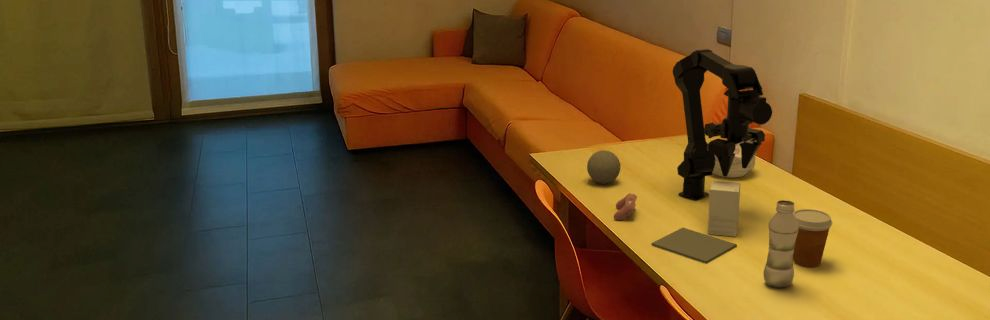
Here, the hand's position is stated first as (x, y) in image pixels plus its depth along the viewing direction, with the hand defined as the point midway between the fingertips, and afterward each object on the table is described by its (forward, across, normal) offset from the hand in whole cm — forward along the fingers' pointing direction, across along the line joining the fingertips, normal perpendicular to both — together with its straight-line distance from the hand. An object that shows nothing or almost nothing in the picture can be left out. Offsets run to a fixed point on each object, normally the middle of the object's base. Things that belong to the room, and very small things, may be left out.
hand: (734, 172), depth 240 cm
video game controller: (+13, +18, -22) cm, 32 cm away
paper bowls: (+13, -32, -21) cm, 40 cm away
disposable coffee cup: (+14, +11, +28) cm, 33 cm away
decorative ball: (+13, +2, -43) cm, 45 cm away
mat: (+14, +22, +3) cm, 26 cm away
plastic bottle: (+14, +27, +29) cm, 42 cm away
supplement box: (+14, +9, +3) cm, 16 cm away
